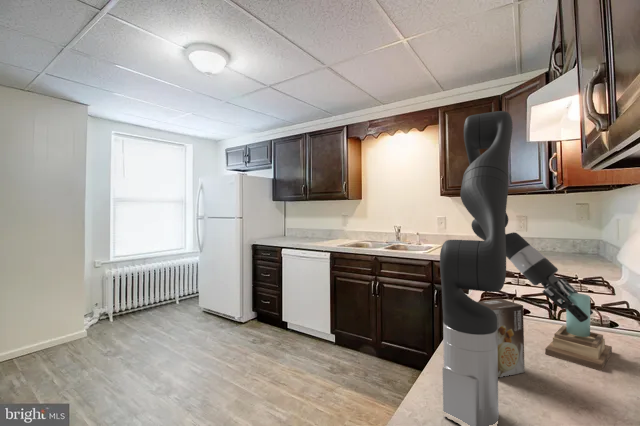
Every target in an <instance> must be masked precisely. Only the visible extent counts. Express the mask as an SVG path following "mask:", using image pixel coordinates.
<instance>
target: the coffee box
mask: <svg viewBox="0 0 640 426" xmlns="http://www.w3.org/2000/svg"><path fill="white" fill-rule="evenodd" d="M477 302H478V303H480V304H482V305H484V306H486V307H488V308H490V309H491V310H493V311H494V312H495V314H496V316H497V334H498V377H500V378H504V377H503V376H505V377H508V376H509V375H510V376H512V375H518V374H522V373H525V368H526V367H525V335H524V334H525V331H524V329H525V328H524V305H522V304H520V303H516V302H513V301H510V300H507V299H504V298H496V299H487V300H482V301H481V300H480V301H479V300H478V301H477Z"/></svg>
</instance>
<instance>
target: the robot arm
mask: <svg viewBox="0 0 640 426" xmlns="http://www.w3.org/2000/svg"><path fill="white" fill-rule="evenodd" d="M512 135H513V120H512V116H511V114H510V113H509V112H508V111H504V110H498V111H491V112H483V113H476V114H472V115H469V116H467V117H466V118H465V121H464V124H463V141H464V146H465V152H466V155H467V160H468V165H469V166H467V168H466V169H465V171H464V173H463V176H462V181H461V187H460V194H459V195H460V199H461V203H462V204H463V206H464V208H465V209H466V211H467V212H468V213H469V214H470V215H471V217H472V218H473V220H472V222H471V229H472V231H473V233H474V234H475V235H476V236H477V237H479V239H481V240H477V239H475V240H472V239H468V240H467V239H448V240H445V241H444V242H443V243H442V245H441V248H440V254H439V269H440V270H439V271H440V282H441V297H442V298H441V300H442V301H441V303H442V326H443V329H442V330H443V331H442V333H443V334H442V335H443V336H442V337H443V367H442V411H444V412H446V413H448V414H450V415H452V416H454V417H456V418H458V419H460V420H462V421H463V422H465V423H467V424H468V425H470V426H489V425H493V424H495V423H496V422H497V421H498V419H499V378H498V334H497V316H496V314H495V312H494V311H493V310H491V309H490V308H488V307H486V306H484V305H482V304H480V303H478V302H479V301H476V300H474V299H472V298H471V297H470V296H469V295H467V294H466V293H465V291H463V290H468V291H469V290H470V291H478V292H486V293H498V292H501V290H502V289H503V287H504V285H505V282H506V278H507V259H508V260H509V261H510V262H511V264H513V266H514V267H515V268H516V269H517V270H518V271H519V272H520V273H521V274H522V275H523V276H524V277H525V278H526V279H527V280H528V281H529V282H530V283H531V284H532V285H533V286H539V285H540V284H541V285H542V287H543V288H544V289H543V290H542V294H544V295H545V296H546V297H547V298H548V299H549V300H551V301H552V302H553V303H554V304H555V305H556V306H557V307H559V308H560V309H562V310H564V309H565V311H566V310H568V311H569V312H571V313H572V314H573V315H574V316H575V317H576V318H577V319H578V320H579V321H580V322H583V321H585V320H587V319H588V316H587V315H586V314H585V313H584V312H583V311H582V310H581V309H580V308H579V307H578V306H577V305H575V303H574V302H573V301H572V300H571V298H570V294H569V293H579V292H578V291H577V290H576V289H575V287H573V285H572V284H570V283H569V282H568V280H567V279H565V278H559V277H558V276H556V275H555V274H556V273H558V271H559V269H558V268H557V266H555V265H554V264H553V262H551V261H550V260H549V259H548V258H546V257H545V256H544V255H543V254H542V253H541V251H539V250H538V249H537V248H535V247H533V246H532V245H531V244H530V243H529V242H528V241H526V239H524V237H523V236H521V235H520V234H519V233H517V232H514V231H513V232H509V233H506V227H507V226H508V224H509V216H508V213H507V205H508V194H509V158H510V157H509V156H510V149H511V143H512V137H513V136H512ZM480 150H485V151H484V152H483V153H482V154H481V151H480ZM593 314H594V311H593V309H591V308H590V316H591V315H593Z"/></svg>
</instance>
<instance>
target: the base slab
mask: <svg viewBox="0 0 640 426" xmlns="http://www.w3.org/2000/svg"><path fill="white" fill-rule="evenodd" d="M544 350H545V352H544V353H545V355H546V356H551V357H554V358H558V359H561V360H563V361H568V362H571V363H573V364H577V365H581V366H584V367H587V368H590V369H594V370H597V371H603V370H604V367H605V365H606V364H607V362H608V360H609V359H610V356H611V354H612V353H613V346H611V345H608V344H606V338H604V334H602V333H597V332H593V331H590V336H589V337H581V336H576V335H572V334H570V333H568V332H567V331H566V325H562V326H561V327H560V328H559V329H557V330H556V332H555V333H554V335H553V337H552V342H550V343H549V344H548V345H547V346H546V347H545V349H544Z"/></svg>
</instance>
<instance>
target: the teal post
mask: <svg viewBox="0 0 640 426" xmlns="http://www.w3.org/2000/svg"><path fill="white" fill-rule="evenodd" d="M569 294H570V298H571V300H572V301H573V302H574V303H575V305H577V306H578V307H579V308H580V309H581V310H582V311H583V312H584V313H585V314H586V315H587V316H588V319H587V320H585V321H583V322H580V321H579V320H578V319H577V318H576V317H575V316H574V315H573V314H572V313H571V312H569V311H568V310H566V309H565V311H566V315H565V316H566V317H565V319H566V322H565V323H566V324H565V326H566V331H567V332H568V333H570V334H572V335H576V336H581V337H589V336H590V332H591V315H590V309H591V296H590V295H588V294H584V293H580V292H578V293H569Z"/></svg>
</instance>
